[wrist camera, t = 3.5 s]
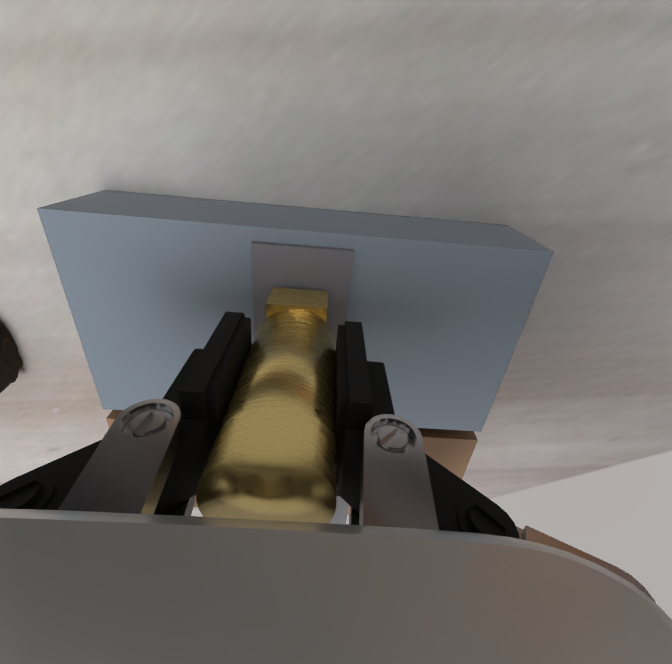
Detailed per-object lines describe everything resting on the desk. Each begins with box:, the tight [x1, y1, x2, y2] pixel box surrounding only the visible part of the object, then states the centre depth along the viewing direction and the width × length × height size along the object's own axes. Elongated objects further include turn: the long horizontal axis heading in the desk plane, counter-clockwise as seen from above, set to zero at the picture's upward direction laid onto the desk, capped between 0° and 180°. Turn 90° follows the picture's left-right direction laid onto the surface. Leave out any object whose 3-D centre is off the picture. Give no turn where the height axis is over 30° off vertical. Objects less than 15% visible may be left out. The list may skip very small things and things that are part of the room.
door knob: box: [196, 287, 336, 523], centre depth 11 cm, size 3×7×7 cm, turn 175°
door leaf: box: [37, 190, 553, 432], centre depth 16 cm, size 18×9×4 cm, turn 85°
